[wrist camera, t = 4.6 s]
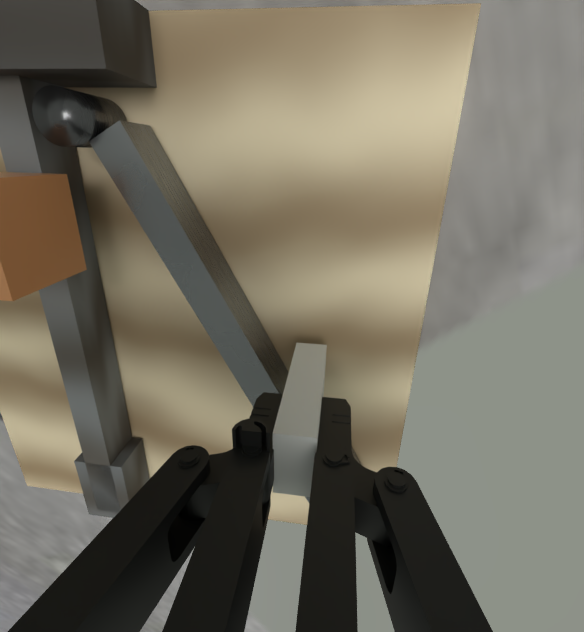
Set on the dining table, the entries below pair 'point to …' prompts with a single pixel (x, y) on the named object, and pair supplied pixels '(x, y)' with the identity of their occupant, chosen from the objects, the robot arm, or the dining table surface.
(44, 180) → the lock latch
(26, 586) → the dining table surface
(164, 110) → the tongs board
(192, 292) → the upper tong arm
